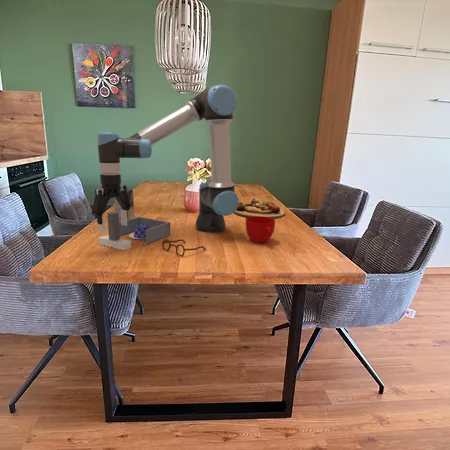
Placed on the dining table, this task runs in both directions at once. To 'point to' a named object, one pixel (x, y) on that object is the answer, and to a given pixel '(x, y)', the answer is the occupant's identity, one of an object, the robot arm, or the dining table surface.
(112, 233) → the scraper
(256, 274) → the dining table surface
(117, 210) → the coffee box
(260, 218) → the ceramic cup
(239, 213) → the wooden plate with food
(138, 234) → the pudding
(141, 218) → the bin
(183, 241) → the glasses
